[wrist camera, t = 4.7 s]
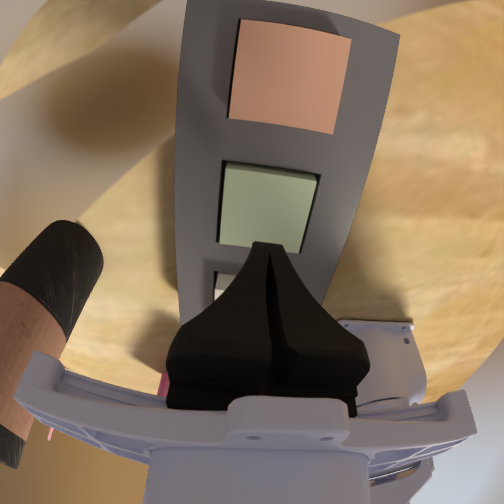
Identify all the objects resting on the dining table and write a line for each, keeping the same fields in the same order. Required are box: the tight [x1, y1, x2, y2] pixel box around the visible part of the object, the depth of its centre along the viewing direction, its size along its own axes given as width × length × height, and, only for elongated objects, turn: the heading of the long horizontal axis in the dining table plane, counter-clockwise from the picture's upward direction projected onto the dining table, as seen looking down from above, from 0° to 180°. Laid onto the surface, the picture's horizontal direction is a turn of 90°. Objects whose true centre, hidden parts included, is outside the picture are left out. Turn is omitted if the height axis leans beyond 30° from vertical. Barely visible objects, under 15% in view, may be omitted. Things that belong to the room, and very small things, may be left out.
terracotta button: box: [229, 19, 352, 135], centre depth 12 cm, size 5×5×2 cm
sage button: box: [219, 161, 317, 253], centre depth 18 cm, size 5×5×2 cm
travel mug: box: [0, 220, 103, 469], centre depth 16 cm, size 8×8×20 cm
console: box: [174, 0, 400, 326], centre depth 18 cm, size 11×24×3 cm, turn 173°
